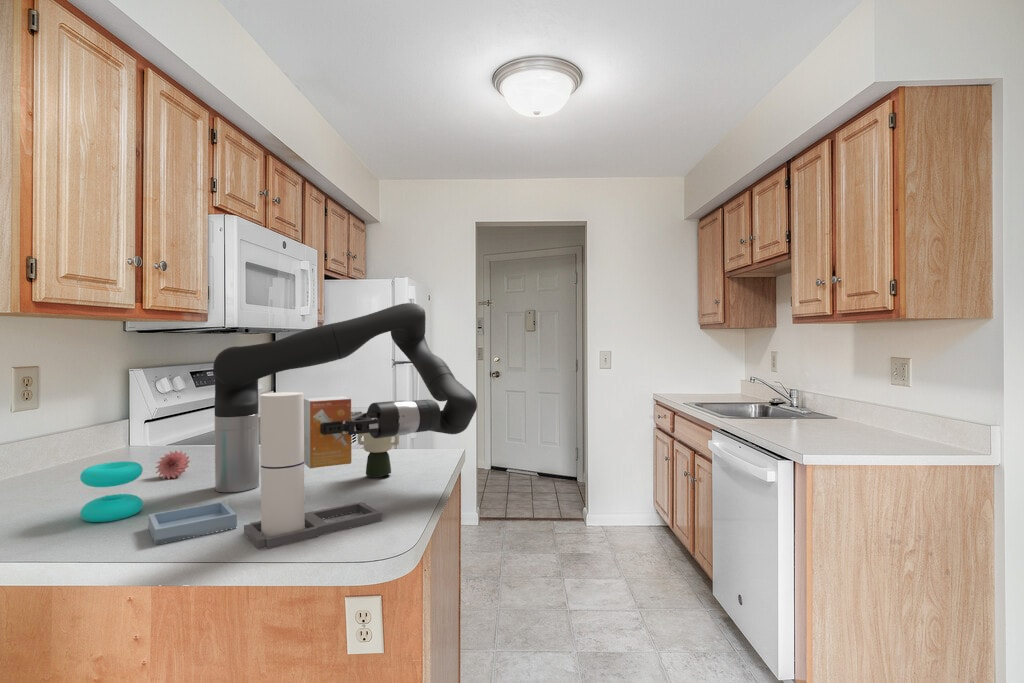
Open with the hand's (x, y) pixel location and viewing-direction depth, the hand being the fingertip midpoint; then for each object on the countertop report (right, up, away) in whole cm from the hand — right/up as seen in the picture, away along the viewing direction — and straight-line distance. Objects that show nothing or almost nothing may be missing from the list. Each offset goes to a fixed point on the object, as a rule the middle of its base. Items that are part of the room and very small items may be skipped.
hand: (315, 426), depth 106 cm
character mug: (+5, -18, +31) cm, 36 cm away
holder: (+2, -18, -6) cm, 19 cm away
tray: (-20, -18, -6) cm, 28 cm away
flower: (-48, -18, +32) cm, 60 cm away
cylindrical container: (-2, -18, -10) cm, 20 cm away
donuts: (-41, -18, +2) cm, 45 cm away
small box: (+2, -8, +1) cm, 8 cm away
